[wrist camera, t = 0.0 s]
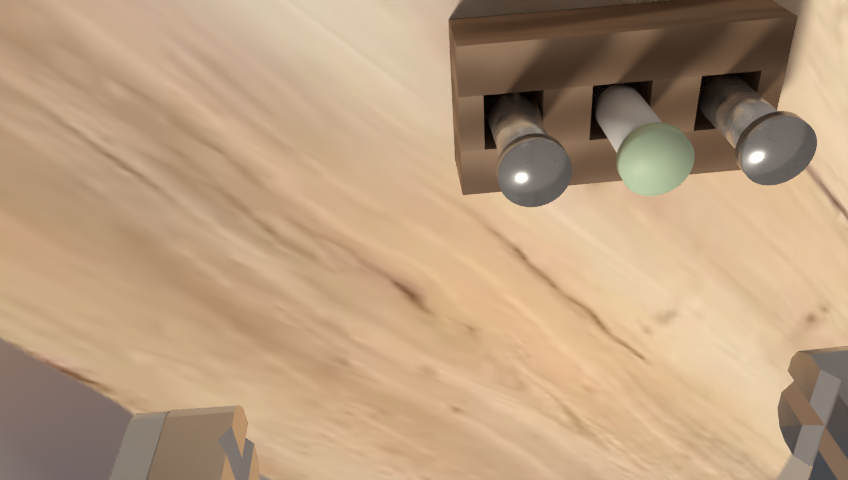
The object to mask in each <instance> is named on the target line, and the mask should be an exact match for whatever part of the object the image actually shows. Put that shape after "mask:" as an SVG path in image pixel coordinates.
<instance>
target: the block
mask: <svg viewBox="0 0 848 480" xmlns="http://www.w3.org/2000/svg"><path fill="white" fill-rule="evenodd" d="M796 21H797V16H796V15H794V14H792V13H791V12H789V11H787V10H786V9H784V8H783V7H781V6H779V5H778V4H776V3H775V2H773V1H771V0H672V1H661V2H649V3H638V4H626V5H615V6H603V7H592V8H580V9H569V10H557V11H546V12H534V13H522V14H511V15H499V16H488V17H476V18H465V19H453V20H449V40H450V61H451V82H452V103H453V124H454V145H455V161H456V165H457V170H458V175H459V179H460V184H461V189H462V193H463V195H468V194H479V193H490V192H501V189H500V186H499V183H498V180H497V176H496V163H497V159H498V157H499V153H498V150H497V147H496V144H495V141H494V138H493V135H492V132H491V129H490V126H489V122H488V116H484V96H483V95H493V94H505V93H516V92H527V91H528V98H529V99H530V100H531V102H532V103H533V105H534V107H535V109H536V111H537V113H538V115H539V117H540V119H541V122H542V124H543V126H544V128H545V130H546V132H547V134H548V135H549V136H551V137H553V138H555V139H556V140H558V141H559V142H560V143H561V144H562V146H563V147H564V149H565V151H566V153H567V155H568V157H569V159H570V161H571V165H572V176H571V180H570V182H569V185H578V184H589V183H600V182H611V181H622V178H621V177H620V175H619V173H618V171H617V168H616V155H617V152H616V151H615V149H614V148H613V146H612V144H611V143H610V141H609V139H608V138H607V136H606V135H605V133H604V131H603V130H602V128H601V127H600V125H599V123H598V122H597V120H596V118H595V116H594V106H592V93H593V86H595V85H606V84H617V83H626V84H627V85H630V86H632V87H634V88H635V89H636V90H637V91H638V92H639V94H640V95H641V96H642V97H643V99H644V100H645V101H646V102H647V104H648V105H649V106H650V108H651V109H652V110H653V111H654V113H655V114H656V115H657V116H658V118H659V119H660V120H661V121H662V122H663V123H669V124H672V125H674V126H676V127H677V128H679V129H680V130H681V131H682V132H683V134H684V135H685V136H686V137H687V138H688V140H689V141H690V142H691V144H692V146H693V148H694V154H695V158H694V164H693V167H692V170H691V172H690V174H699V173H710V172H721V171H732V170H741V169H740V168H739V166H738V164H737V162H736V159H735V148H734V147H733V146H732V145H731V144H730V143H729V142H728V141H727V139H726V138H725V137H724V136H723V135H722V134H721V133H720V132H719V131H718V130H717V129H716V128H715V126H714V125H713V124H712V123H711V122H710V121H709V120H708V119H707V118H706V117H705V116H704V114H703V113H702V112H701V110H700V108H699V92H700V85H701V79H702V76H708V75H719V74H723V75H727V74H730V75H735V76H738V77H739V78H741V79H742V80H743V81H744V82H745V83H746V84H748V85H749V86H750V87H751V88H752V89H753V90H754V91H755V92H757V93H758V94H759V95H760V96H761V97H762V98H763V99H765V100H766V101H767V102H768V103H769V104H770V105H771V106H772V107H774V108H775V109H776V110H777V107H778V103H779V98H780V93H781V89H782V84H783V80H784V75H785V71H786V66H787V62H788V57H789V52H790V48H791V43H792V39H793V34H794V30H795V25H796Z"/></svg>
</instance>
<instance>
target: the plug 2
mask: <svg viewBox="0 0 848 480" xmlns="http://www.w3.org/2000/svg"><path fill="white" fill-rule="evenodd" d="M699 108H700V110H701V112H702V113H703V114H704V116H705V117H706V118H707V119H708V120H709V121H710V122H711V123H712V124H713V125H714V126H715V128H716V129H717V130H718V131H719V132H720V133H721V134H722V135H723V136H724V137H725V138H726V139H727V141H728V142H729V143H730V144H731V145H732V146H733V147H734V148H735V159H736V162H737V164H738V166H739V168H740V169H741V170H742V171H743V172H744V173H745V174H746V175H747V177H748V178H749V179H751V180H752V181H753V182H755V183H758V184H762V185H776V184H780V183H783V182H786V181H788V180H790V179H792V178H794V177H795V176H797V175H798V174H800V173H801V172H802V171H803V170H804V169H805V168H806V167H807V166H808V164H809V163H810V161H811V160H812V158H813V156H814V154H815V151H816V146H817V139H816V134H815V132H814V130H813V129H812V127H811V126H810V125H808V124H807V123H806V122H805V121H804V120H803V119H801V118H800V117H799V116H797V115H796V114H794V113H791V112H786V111H777V110H776V109H775V108H774V107H772V106H771V105H770V104H769V103H768V102H767V101H766V100H765V99H763V98H762V97H761V96H760V95H759V94H758V93H757V92H755V91H754V90H753V89H752V88H751V87H750V86H749V85H748V84H746V83H745V82H744V81H743V80H742V79H741V78H739V77H738V76H735V75H730V74H727V75H721V76H718V77H716V78H714V79H713V80H711V81H710V82H709V83H708V84H707V85H706V86H705V87H704V88H703V90H702V92H701V94H700V97H699Z"/></svg>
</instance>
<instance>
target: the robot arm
mask: <svg viewBox="0 0 848 480" xmlns="http://www.w3.org/2000/svg"><path fill="white" fill-rule="evenodd" d="M788 372H789V373H790V375H791V376H792V378H793V379H794V382H793V383H792V384H790V385H789V386H788V387H787V388H786V389H785V390H784V391H783V392H782V393H781V397H780V401H779V405H778V417H779V426H780V429H781V432H782V435H783V438H784V440H785V442H786V444H787V446H788V447H789V449H790V451H791V453H792V454H793V455H794V456H795V457H797V458H798V459H800V460H802V461H803V462H805V463H806V464H808V465H809V466H811V470H810V474H809V479H808V480H848V346H842V347H833V348H823V349H814V350H805V351H798V352H797V353H796V354H795V355H794V356H793V357H792V359H791V362H790V365H789V368H788ZM247 426H248V421H247V418H246V416H245V413H244V410H243V407H241V406H224V407H210V408H196V409H182V410H171V411H164V412H149V413H137V414H136V415H135V416H134V417H133V418H132V419H131V421H130V422H129V425H128V427H127V430H126V432H125V435H124V438H123V441H122V444H121V446H120V449H119V452H118V455H117V458H116V460H115V463H114V466H113V469H112V472H111V474H110V477H109V480H259V464H258V457H257V452H256V449H255V445H254V443H252V442H251V441H250V440H248V439H247V438H246V432H247Z"/></svg>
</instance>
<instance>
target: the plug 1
mask: <svg viewBox="0 0 848 480" xmlns="http://www.w3.org/2000/svg"><path fill="white" fill-rule="evenodd" d="M488 122H489V126H490V129H491V132H492V135H493V138H494V141H495V144H496V147H497V150H498V153H499V157H498V159H497V163H496V176H497V180H498V183H499V186H500V189H501V191H502V193H503V194H504V195H505V197H506V198H507V199H509V200H510V201H511V202H513V203H515V204H517V205H520V206H525V207H537V206H542V205H545V204H548V203H550V202H552V201H553V200H555V199H556V198H558V197H559V196H560V195H561V194H562V193H563V192H564V191H565V189H566V188H567V186H568V185H569V182H570V180H571V176H572V165H571V161H570V159H569V157H568V155H567V153H566V151H565V149H564V147H563V146H562V144H561V143H560V142H559V141H558V140H556V139H555V138H553V137H551V136H549V135H548V134H547V132H546V130H545V128H544V126H543V124H542V122H541V119H540V117H539V115H538V113H537V111H536V109H535V107H534V105H533V103H532V102H531V100H530V99H529V98H527V97H526V96H524V95H521V94H515V93H514V94H507V95H504V96H502V97H500V98H499V99H497V100H496V101H495V102H494V103H493V104H492V106H491V108H490V110H489V113H488Z"/></svg>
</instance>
